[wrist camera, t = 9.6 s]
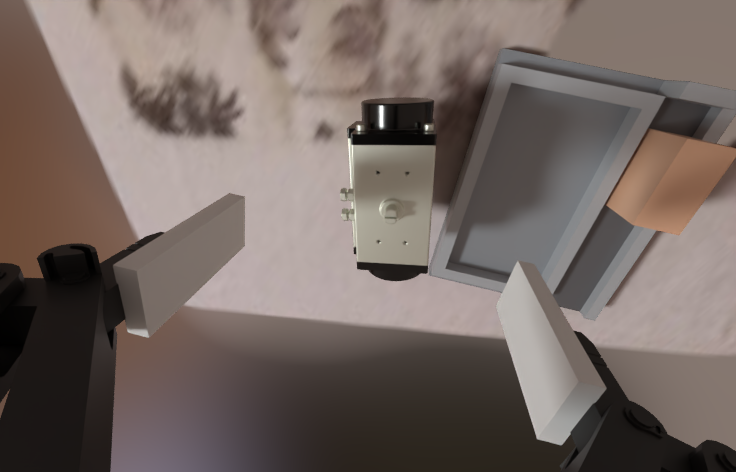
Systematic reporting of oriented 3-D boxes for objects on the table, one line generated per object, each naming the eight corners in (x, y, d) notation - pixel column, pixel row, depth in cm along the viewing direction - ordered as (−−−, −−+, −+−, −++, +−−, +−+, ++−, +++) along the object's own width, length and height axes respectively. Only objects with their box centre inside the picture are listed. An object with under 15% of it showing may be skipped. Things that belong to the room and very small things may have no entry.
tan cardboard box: (643, 127, 24) (687, 138, 20) (688, 136, 24) (741, 149, 20) (601, 201, 27) (632, 224, 23) (641, 210, 27) (679, 235, 23)
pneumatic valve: (433, 91, 26) (439, 106, 16) (425, 224, 31) (426, 302, 21) (365, 93, 27) (327, 108, 16) (369, 221, 32) (342, 295, 22)
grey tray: (500, 49, 24) (511, 46, 21) (722, 93, 23) (768, 97, 20) (428, 268, 34) (429, 289, 30) (584, 305, 33) (601, 331, 30)
